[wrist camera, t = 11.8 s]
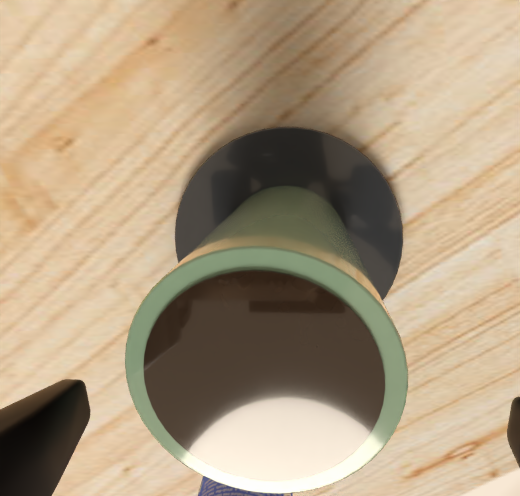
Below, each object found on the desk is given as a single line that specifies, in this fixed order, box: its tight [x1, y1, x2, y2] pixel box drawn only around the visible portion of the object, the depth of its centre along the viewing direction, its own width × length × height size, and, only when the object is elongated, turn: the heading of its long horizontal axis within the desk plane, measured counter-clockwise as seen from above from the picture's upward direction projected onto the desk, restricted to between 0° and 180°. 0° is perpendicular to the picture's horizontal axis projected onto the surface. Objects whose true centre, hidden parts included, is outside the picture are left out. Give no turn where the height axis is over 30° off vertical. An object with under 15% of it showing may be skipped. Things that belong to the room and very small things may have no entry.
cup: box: [125, 185, 408, 494], centre depth 14 cm, size 13×6×13 cm
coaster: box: [175, 127, 403, 301], centre depth 19 cm, size 12×12×1 cm
